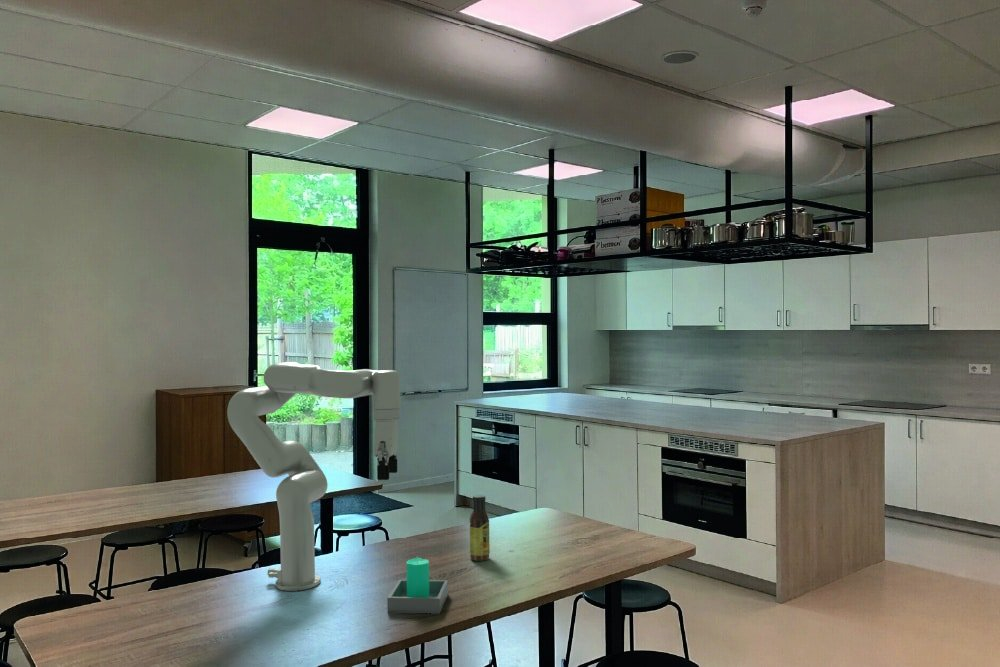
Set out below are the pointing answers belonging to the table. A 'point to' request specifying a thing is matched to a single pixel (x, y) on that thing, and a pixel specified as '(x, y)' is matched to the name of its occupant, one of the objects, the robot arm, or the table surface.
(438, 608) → the box
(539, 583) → the table surface
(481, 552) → the sauce bottle
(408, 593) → the candle
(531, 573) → the table surface
